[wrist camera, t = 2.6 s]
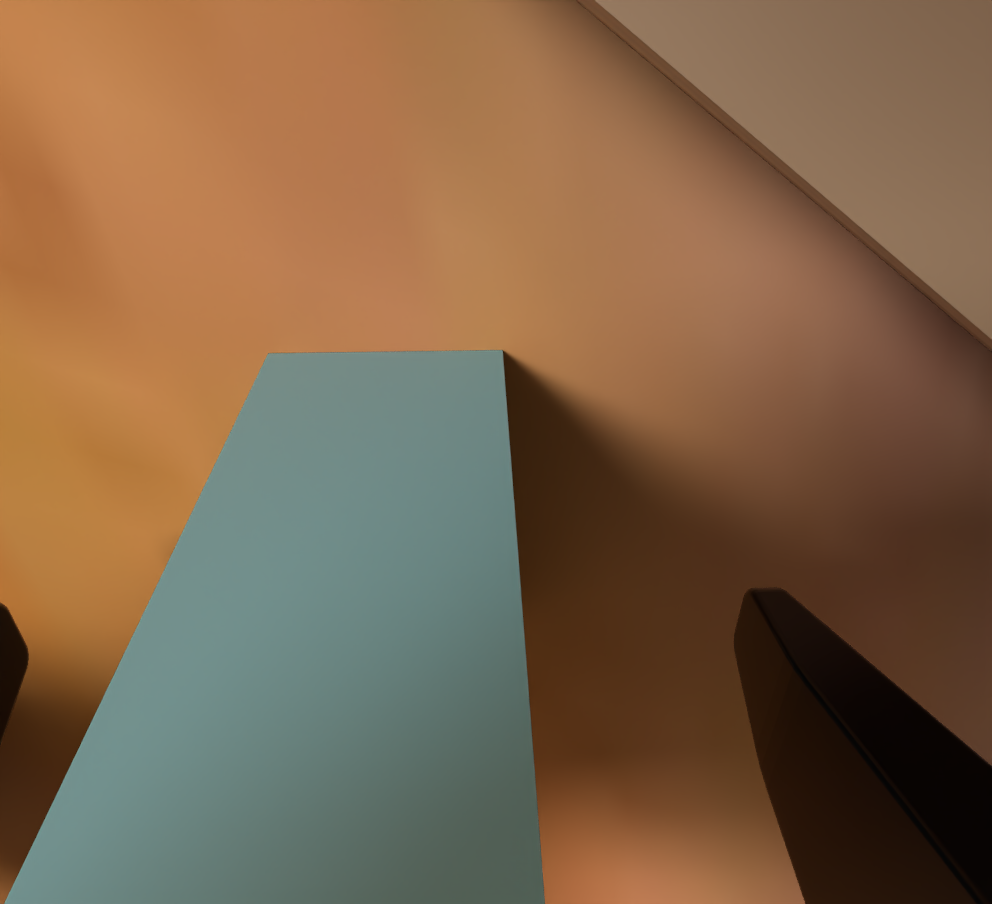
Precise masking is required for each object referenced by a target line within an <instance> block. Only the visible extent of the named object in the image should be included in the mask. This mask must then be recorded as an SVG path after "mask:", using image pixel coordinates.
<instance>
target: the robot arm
mask: <svg viewBox="0 0 992 904" xmlns="http://www.w3.org/2000/svg"><path fill="white" fill-rule="evenodd" d="M734 650H735V656H736V660H737V665H738V670H739V674H740V679H741V683H742V688H743V693H744V697H745V702H746V707H747V711H748V716H749V720H750V725H751V730H752V734H753V739H754V744H755V748H756V752H757V757H758V761H759V765H760V769H761V772H762V775H763V779H764V782H765V785H766V788H767V791H768V794H769V797H770V800H771V803H772V806H773V809H774V812H775V815H776V818H777V821H778V824H779V827H780V830H781V833H782V836H783V839H784V842H785V845H786V848H787V851H788V854H789V857H790V860H791V862H792V865H793V868H794V871H795V874H796V877H797V880H798V883H799V886H800V889H801V892H802V895H803V898H804V901H805V904H992V766H991V765H990V764H989V763H988V762H986V761H985V760H984V759H983V758H982V757H980V756H979V755H978V754H977V753H976V752H975V751H973V750H972V749H971V748H970V747H969V746H968V745H966V744H965V743H964V742H963V741H962V740H960V739H959V738H958V737H957V736H956V735H955V734H953V733H952V732H951V731H950V730H949V729H948V728H946V727H945V726H944V725H943V724H942V723H940V722H939V721H938V720H937V719H936V718H935V717H933V716H932V715H931V714H930V713H929V712H928V711H926V710H925V709H924V708H923V707H922V706H921V705H919V704H918V703H917V702H916V701H915V700H913V699H912V698H911V697H910V696H909V695H908V694H906V693H905V692H904V691H903V690H902V689H901V688H899V687H898V686H897V685H896V684H895V683H893V682H892V681H891V680H890V679H889V678H888V677H886V676H885V675H884V674H883V673H882V672H881V671H879V670H878V669H877V668H876V667H875V666H873V665H872V664H871V663H870V662H869V661H868V660H866V659H865V658H864V657H863V656H862V655H861V654H859V653H858V652H857V651H856V650H855V649H854V648H852V647H851V646H850V645H849V644H848V643H846V642H845V641H844V640H843V639H842V638H841V637H839V636H838V635H837V634H836V633H835V632H834V631H832V630H831V629H830V628H829V627H828V626H826V625H825V624H824V623H823V622H822V621H821V620H819V619H818V618H817V617H816V616H815V615H814V614H812V613H811V612H810V611H809V610H808V609H806V608H805V607H804V606H803V605H802V604H801V603H799V602H798V601H797V600H796V599H795V598H794V597H792V596H791V595H790V594H789V593H788V592H786V591H785V590H783V589H781V588H777V587H772V588H751V589H749V590H747V592H746V593H745V595H744V598H743V602H742V606H741V610H740V614H739V618H738V622H737V626H736V630H735V634H734ZM28 660H29V654H28V648H27V645H26V643H25V641H24V639H23V637H22V635H21V633H20V631H19V629H18V627H17V625H16V623H15V621H14V619H13V617H12V615H11V614H10V612H9V610H8V608H7V607H6V606H5V605H3V604H2V603H0V745H1V742H2V739H3V736H4V733H5V731H6V728H7V725H8V722H9V719H10V716H11V713H12V710H13V707H14V704H15V702H16V699H17V696H18V693H19V690H20V687H21V684H22V681H23V678H24V675H25V673H26V670H27V666H28Z"/></svg>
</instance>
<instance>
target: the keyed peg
mask: <svg viewBox="0 0 992 904" xmlns="http://www.w3.org/2000/svg"><path fill="white" fill-rule="evenodd" d="M4 904H545V898H544V885H543V872H542V859H541V846H540V833H539V820H538V807H537V794H536V781H535V768H534V755H533V742H532V728H531V715H530V702H529V689H528V676H527V663H526V650H525V637H524V624H523V611H522V598H521V585H520V571H519V558H518V545H517V532H516V519H515V506H514V493H513V480H512V467H511V454H510V441H509V428H508V415H507V401H506V388H505V375H504V362H503V350H476V351H403V352H330V353H268V355H267V357H266V359H265V361H264V363H263V365H262V367H261V369H260V372H259V374H258V376H257V378H256V380H255V382H254V384H253V386H252V388H251V390H250V392H249V394H248V397H247V399H246V401H245V403H244V405H243V407H242V409H241V411H240V413H239V415H238V417H237V419H236V422H235V424H234V426H233V428H232V430H231V432H230V434H229V436H228V438H227V440H226V442H225V445H224V447H223V449H222V451H221V453H220V455H219V457H218V459H217V461H216V463H215V465H214V467H213V470H212V472H211V474H210V476H209V478H208V480H207V482H206V484H205V486H204V488H203V490H202V492H201V495H200V497H199V499H198V501H197V503H196V505H195V507H194V509H193V511H192V513H191V515H190V517H189V520H188V522H187V524H186V526H185V528H184V530H183V532H182V534H181V536H180V538H179V540H178V542H177V545H176V547H175V549H174V551H173V553H172V555H171V557H170V559H169V561H168V563H167V565H166V567H165V570H164V572H163V574H162V576H161V578H160V580H159V582H158V584H157V586H156V588H155V590H154V593H153V595H152V597H151V599H150V601H149V603H148V605H147V607H146V609H145V611H144V613H143V615H142V618H141V620H140V622H139V624H138V626H137V628H136V630H135V632H134V634H133V636H132V638H131V640H130V643H129V645H128V647H127V649H126V651H125V653H124V655H123V657H122V659H121V661H120V663H119V665H118V668H117V670H116V672H115V674H114V676H113V678H112V680H111V682H110V684H109V686H108V688H107V690H106V693H105V695H104V697H103V699H102V701H101V703H100V705H99V707H98V709H97V711H96V713H95V715H94V718H93V720H92V722H91V724H90V726H89V728H88V730H87V732H86V734H85V736H84V738H83V741H82V743H81V745H80V747H79V749H78V751H77V753H76V755H75V757H74V759H73V761H72V763H71V766H70V768H69V770H68V772H67V774H66V776H65V778H64V780H63V782H62V784H61V786H60V788H59V791H58V793H57V795H56V797H55V799H54V801H53V803H52V805H51V807H50V809H49V811H48V813H47V816H46V818H45V820H44V822H43V824H42V826H41V828H40V830H39V832H38V834H37V836H36V838H35V841H34V843H33V845H32V847H31V849H30V851H29V853H28V855H27V857H26V859H25V861H24V864H23V866H22V868H21V870H20V872H19V874H18V876H17V878H16V880H15V882H14V884H13V886H12V889H11V891H10V893H9V895H8V897H7V899H6V901H5V903H4Z"/></svg>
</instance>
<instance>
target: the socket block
mask: <svg viewBox="0 0 992 904" xmlns="http://www.w3.org/2000/svg"><path fill="white" fill-rule="evenodd" d="M576 1H577V2H578V3H580V4H581V5H582V6H583V7H584V8H585V9H587V10H588V11H589V12H590V13H591V14H593V15H594V16H595V17H596V18H597V19H598V20H600V21H601V22H602V23H603V24H604V25H606V26H607V27H608V28H609V29H610V30H611V31H613V32H614V33H615V34H616V35H617V36H619V37H620V38H621V39H622V40H623V41H624V42H626V43H627V44H628V45H629V46H630V47H632V48H633V49H634V50H635V51H636V52H638V53H639V54H640V55H641V56H642V57H643V58H645V59H646V60H647V61H648V62H649V63H651V64H652V65H653V66H654V67H655V68H656V69H658V70H659V71H660V72H661V73H662V74H664V75H665V76H666V77H667V78H668V79H669V80H671V81H672V82H673V83H674V84H675V85H677V86H678V87H679V88H680V89H681V90H682V91H684V92H685V93H686V94H687V95H688V96H690V97H691V98H692V99H693V100H694V101H695V102H697V103H698V104H699V105H700V106H701V107H703V108H704V109H705V110H706V111H707V112H709V113H710V114H711V115H712V116H713V117H714V118H716V119H717V120H718V121H719V122H720V123H722V124H723V125H724V126H725V127H726V128H727V129H729V130H730V131H731V132H732V133H733V134H735V135H736V136H737V137H738V138H739V139H740V140H742V141H743V142H744V143H745V144H746V145H748V146H749V147H750V148H751V149H752V150H753V151H755V152H756V153H757V154H758V155H759V156H761V157H762V158H763V159H764V160H765V161H766V162H768V163H769V164H770V165H771V166H772V167H774V168H775V169H776V170H777V171H778V172H780V173H781V174H782V175H783V176H784V177H785V178H787V179H788V180H789V181H790V182H791V183H793V184H794V185H795V186H796V187H797V188H798V189H800V190H801V191H802V192H803V193H804V194H806V195H807V196H808V197H809V198H810V199H811V200H813V201H814V202H815V203H816V204H817V205H819V206H820V207H821V208H822V209H823V210H824V211H826V212H827V213H828V214H829V215H830V216H832V217H833V218H834V219H835V220H836V221H837V222H839V223H840V224H841V225H842V226H843V227H845V228H846V229H847V230H848V231H849V232H851V233H852V234H853V235H854V236H855V237H856V238H858V239H859V240H860V241H861V242H862V243H864V244H865V245H866V246H867V247H868V248H869V249H871V250H872V251H873V252H874V253H875V254H877V255H878V256H879V257H880V258H881V259H882V260H884V261H885V262H886V263H887V264H888V265H890V266H891V267H892V268H893V269H894V270H895V271H897V272H898V273H899V274H900V275H901V276H903V277H904V278H905V279H906V280H907V281H908V282H910V283H911V284H912V285H913V286H914V287H916V288H917V289H918V290H919V291H920V292H922V293H923V294H924V295H925V296H926V297H927V298H929V299H930V300H931V301H932V302H933V303H935V304H936V305H937V306H938V307H939V308H940V309H942V310H943V311H944V312H945V313H946V314H948V315H949V316H950V317H951V318H952V319H953V320H955V321H956V322H957V323H958V324H959V325H961V326H962V327H963V328H964V329H965V330H966V331H968V332H969V333H970V334H971V335H972V336H974V337H975V338H976V339H977V340H978V341H979V342H981V343H982V344H983V345H984V346H985V347H987V348H988V349H989V350H990V351H991V352H992V0H576Z"/></svg>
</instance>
